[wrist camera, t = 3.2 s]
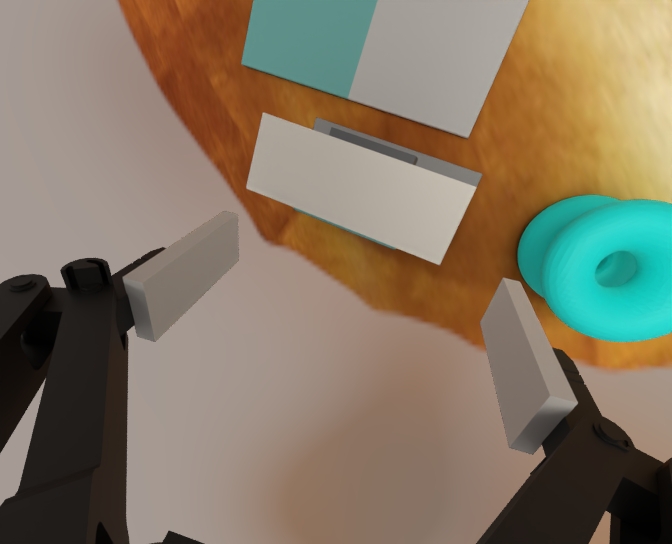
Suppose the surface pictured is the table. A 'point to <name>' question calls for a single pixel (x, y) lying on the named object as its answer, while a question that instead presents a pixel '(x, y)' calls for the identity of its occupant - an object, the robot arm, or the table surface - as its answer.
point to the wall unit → (362, 184)
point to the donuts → (603, 265)
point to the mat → (389, 52)
